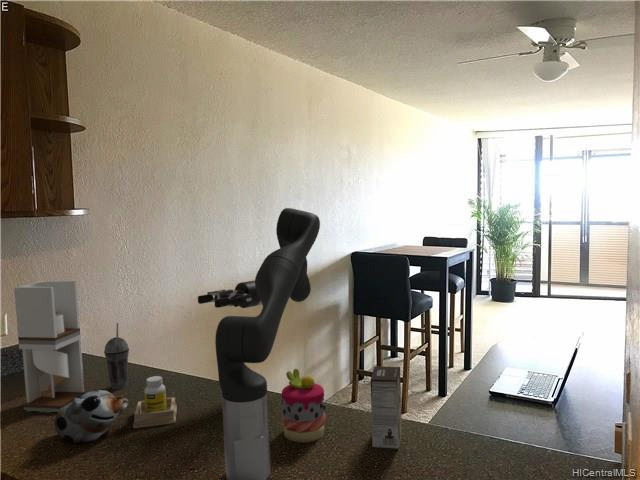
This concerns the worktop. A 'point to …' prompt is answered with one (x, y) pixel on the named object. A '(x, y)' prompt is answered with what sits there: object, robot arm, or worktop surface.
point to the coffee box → (386, 407)
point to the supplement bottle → (155, 395)
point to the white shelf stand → (50, 344)
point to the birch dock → (155, 415)
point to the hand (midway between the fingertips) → (206, 301)
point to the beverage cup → (117, 361)
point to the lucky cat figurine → (89, 416)
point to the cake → (303, 408)
